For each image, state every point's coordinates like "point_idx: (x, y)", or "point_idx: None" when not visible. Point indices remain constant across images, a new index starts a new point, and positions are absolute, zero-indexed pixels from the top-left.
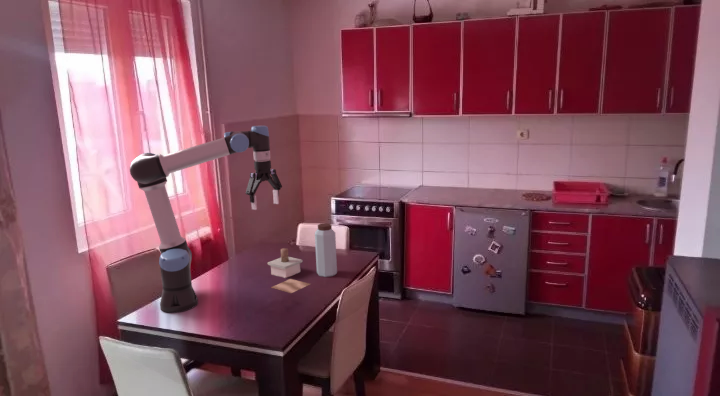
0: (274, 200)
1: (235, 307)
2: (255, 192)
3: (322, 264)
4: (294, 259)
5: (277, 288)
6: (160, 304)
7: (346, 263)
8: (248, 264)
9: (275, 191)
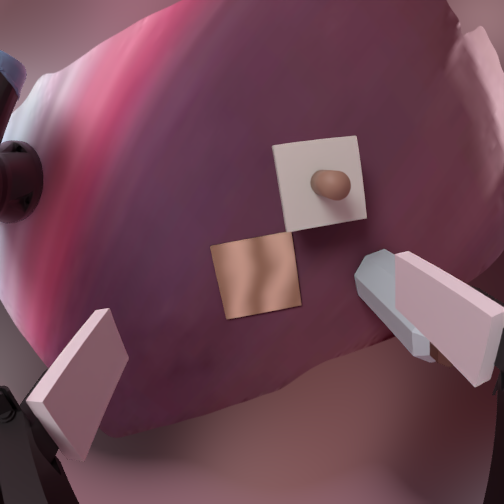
0: (412, 279)
1: (90, 285)
2: (70, 486)
3: (369, 301)
4: (353, 194)
5: (219, 267)
6: None
7: (452, 244)
8: (281, 21)
9: (471, 355)
